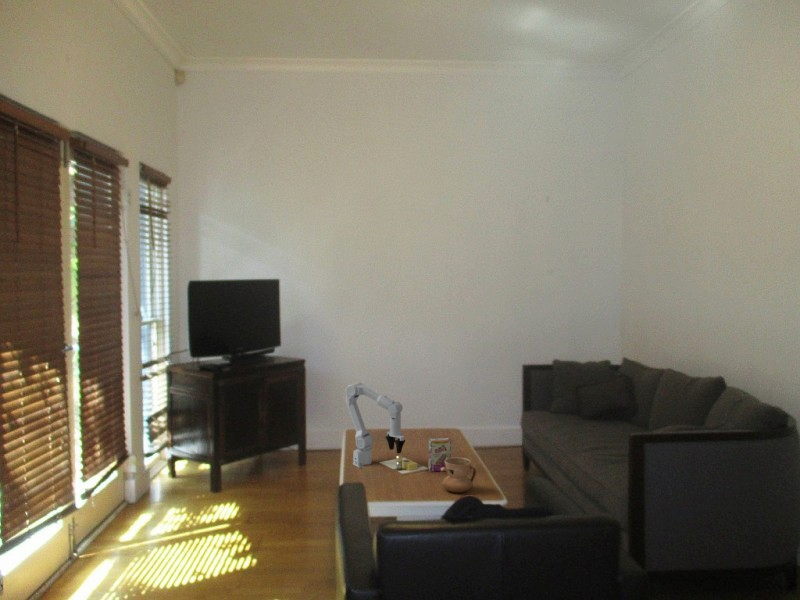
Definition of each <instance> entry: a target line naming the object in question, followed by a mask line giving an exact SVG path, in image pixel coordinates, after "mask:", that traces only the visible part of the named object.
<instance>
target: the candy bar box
mask: <svg viewBox="0 0 800 600" xmlns="http://www.w3.org/2000/svg"><path fill="white" fill-rule="evenodd" d="M448 458H452V440H451V439H450V438H449V437H443V438H428V462H427V463H428V466H427V468H428V471H429V473H437V472H442V471H441V468H442V467H445V468H446V465H445V460H446V459H448Z"/></svg>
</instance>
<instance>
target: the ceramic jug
mask: <svg viewBox="0 0 800 600" xmlns="http://www.w3.org/2000/svg"><path fill="white" fill-rule="evenodd" d="M445 465H446V468H445V467H442V468H441V471H440V472H447V474H448V475H447V476H446V477H445V478H443V479H442V483H441V486H442V488H444V489H445V490H446V491H448V492H451V493H466V492H468V491H470V490H472V488H473V486H474V483H473V481H474V480H475V478H476V475H477V468H476V467H475V466H474V465H472V461H471V460H470V459H468V458H466V457H461V456H460V457H458V456H457V457H451V458H448V459H446V460H445ZM470 470H473V471H472V475H471V477H470V478H469V477H468V476H467V475H468V473H469V471H470Z"/></svg>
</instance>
